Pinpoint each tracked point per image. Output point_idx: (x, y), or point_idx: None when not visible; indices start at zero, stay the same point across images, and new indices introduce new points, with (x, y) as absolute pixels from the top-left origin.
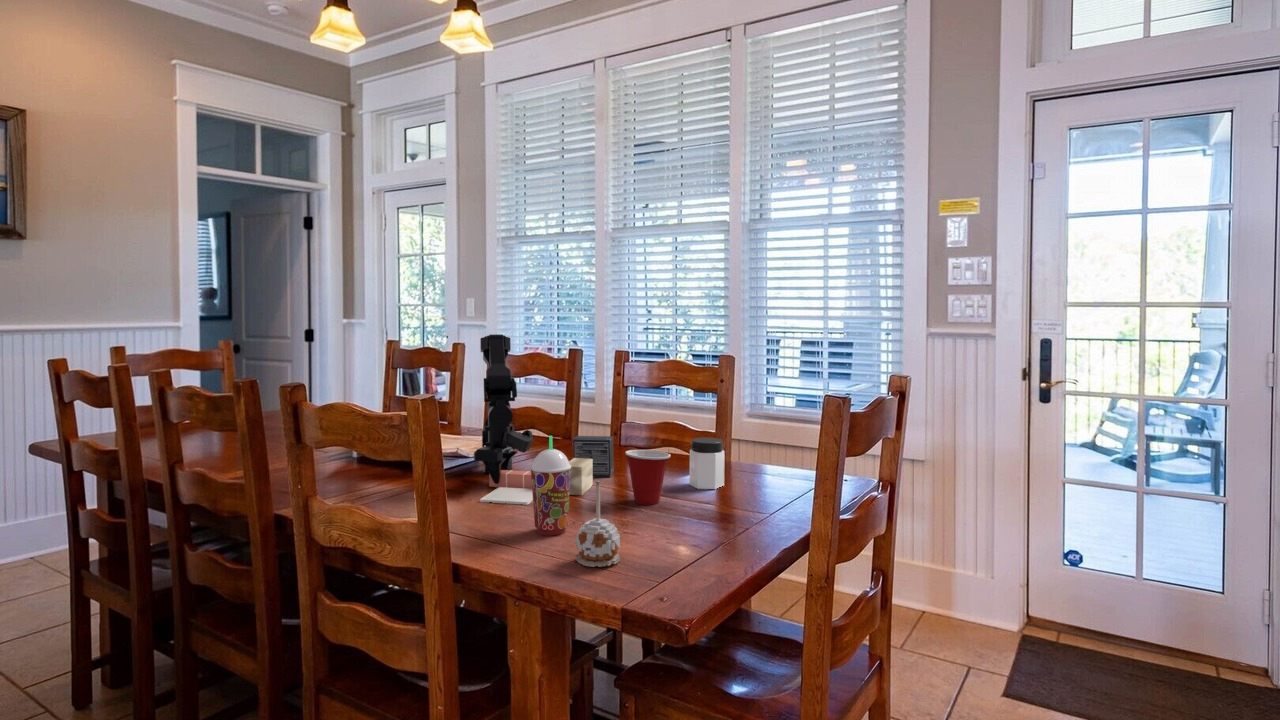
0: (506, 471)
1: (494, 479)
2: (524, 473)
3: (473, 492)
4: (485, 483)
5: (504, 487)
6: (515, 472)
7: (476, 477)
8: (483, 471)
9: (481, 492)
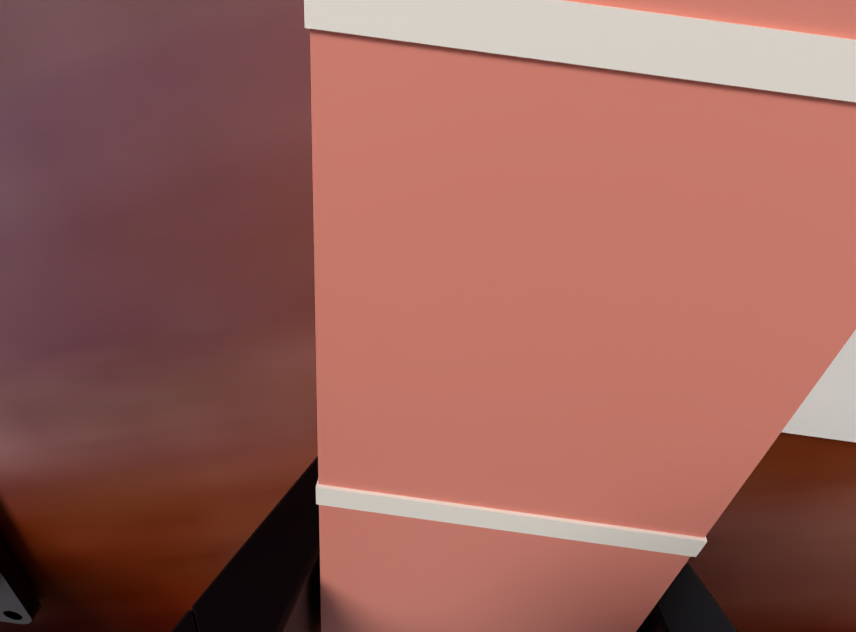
0: (438, 562)
1: None
2: (760, 104)
3: (807, 586)
4: None
5: None
6: (540, 408)
7: None
8: (15, 620)
9: (836, 535)
